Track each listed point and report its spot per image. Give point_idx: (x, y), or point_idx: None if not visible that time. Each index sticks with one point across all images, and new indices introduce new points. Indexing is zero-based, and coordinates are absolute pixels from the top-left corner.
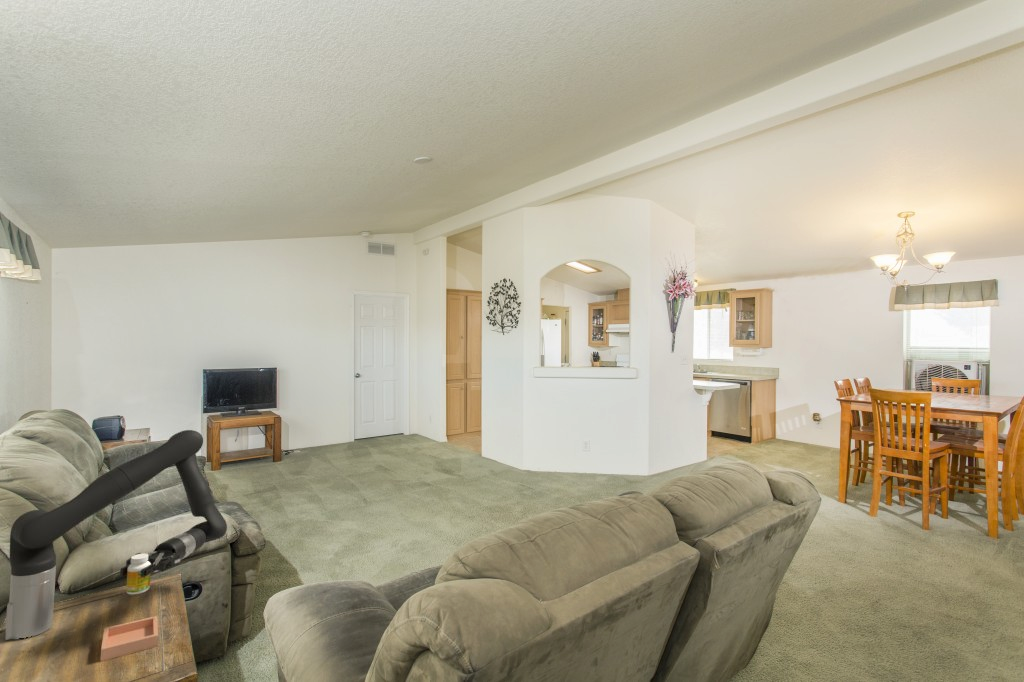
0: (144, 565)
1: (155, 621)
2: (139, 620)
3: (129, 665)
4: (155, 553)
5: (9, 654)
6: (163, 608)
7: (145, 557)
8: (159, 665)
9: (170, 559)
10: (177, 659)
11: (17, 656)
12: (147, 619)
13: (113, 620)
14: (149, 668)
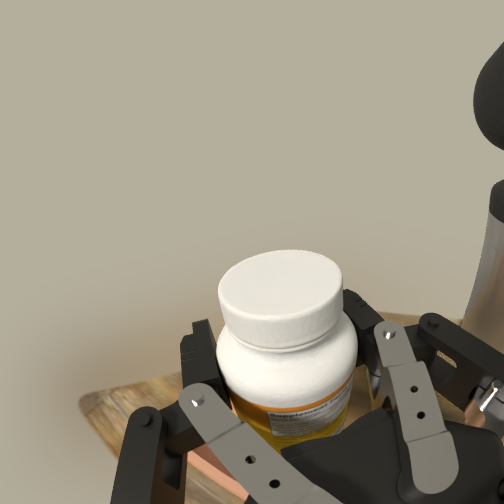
0: (225, 333)
1: (235, 487)
2: None
3: (176, 391)
4: (407, 481)
5: (415, 316)
6: None
7: (219, 293)
8: (123, 403)
9: (130, 480)
10: (103, 422)
11: (399, 321)
12: None
13: None
14: (134, 394)
